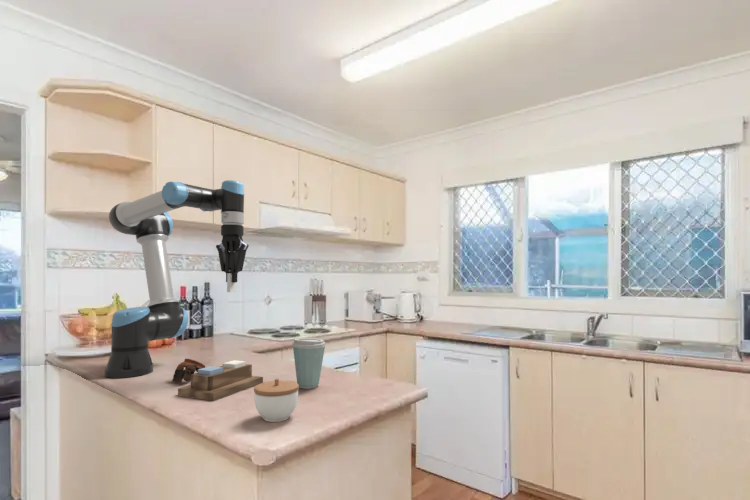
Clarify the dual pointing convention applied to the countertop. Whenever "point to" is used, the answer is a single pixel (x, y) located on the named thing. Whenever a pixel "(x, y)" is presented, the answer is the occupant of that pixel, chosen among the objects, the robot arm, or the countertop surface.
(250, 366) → the wooden stepped stand
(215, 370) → the light blue block
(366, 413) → the countertop surface
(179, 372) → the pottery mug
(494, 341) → the countertop surface
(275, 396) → the lidded jar
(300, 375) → the disposable coffee cup
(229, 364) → the white block
